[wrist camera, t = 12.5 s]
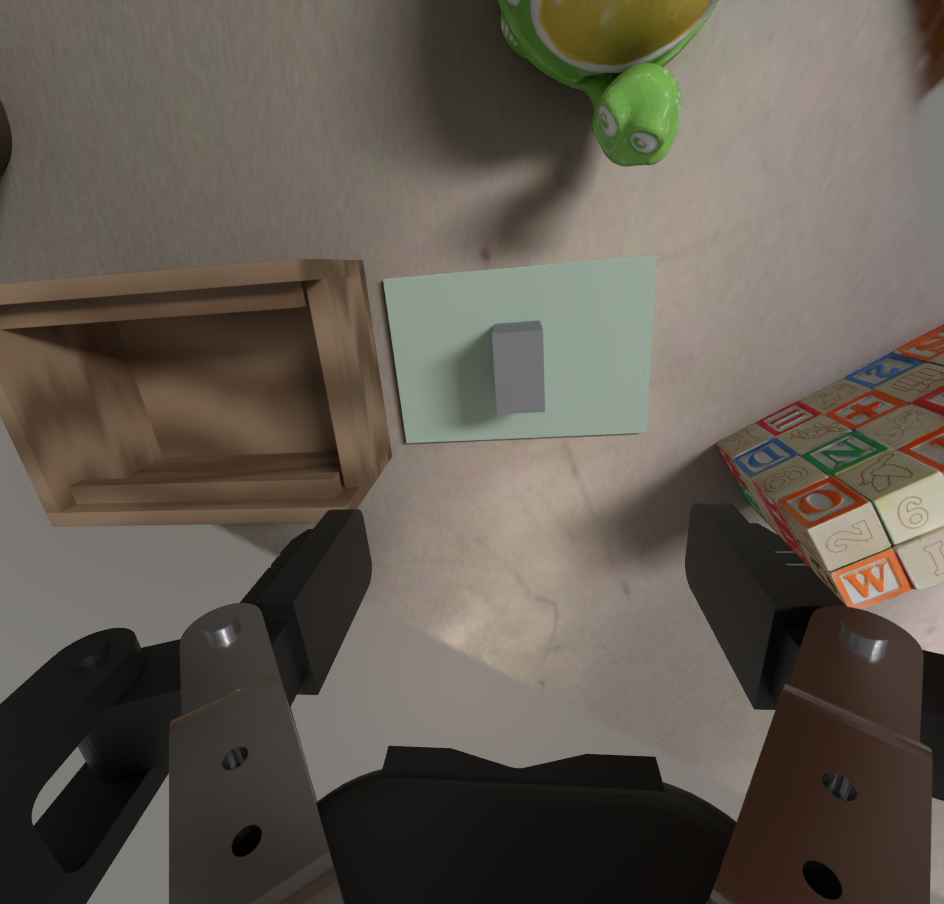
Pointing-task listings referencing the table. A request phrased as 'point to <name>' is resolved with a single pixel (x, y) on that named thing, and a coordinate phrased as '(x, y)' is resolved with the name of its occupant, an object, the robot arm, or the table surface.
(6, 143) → the plant pot
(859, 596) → the stack of blocks
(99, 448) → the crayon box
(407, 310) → the lid
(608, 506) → the table surface
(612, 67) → the turtle holder
